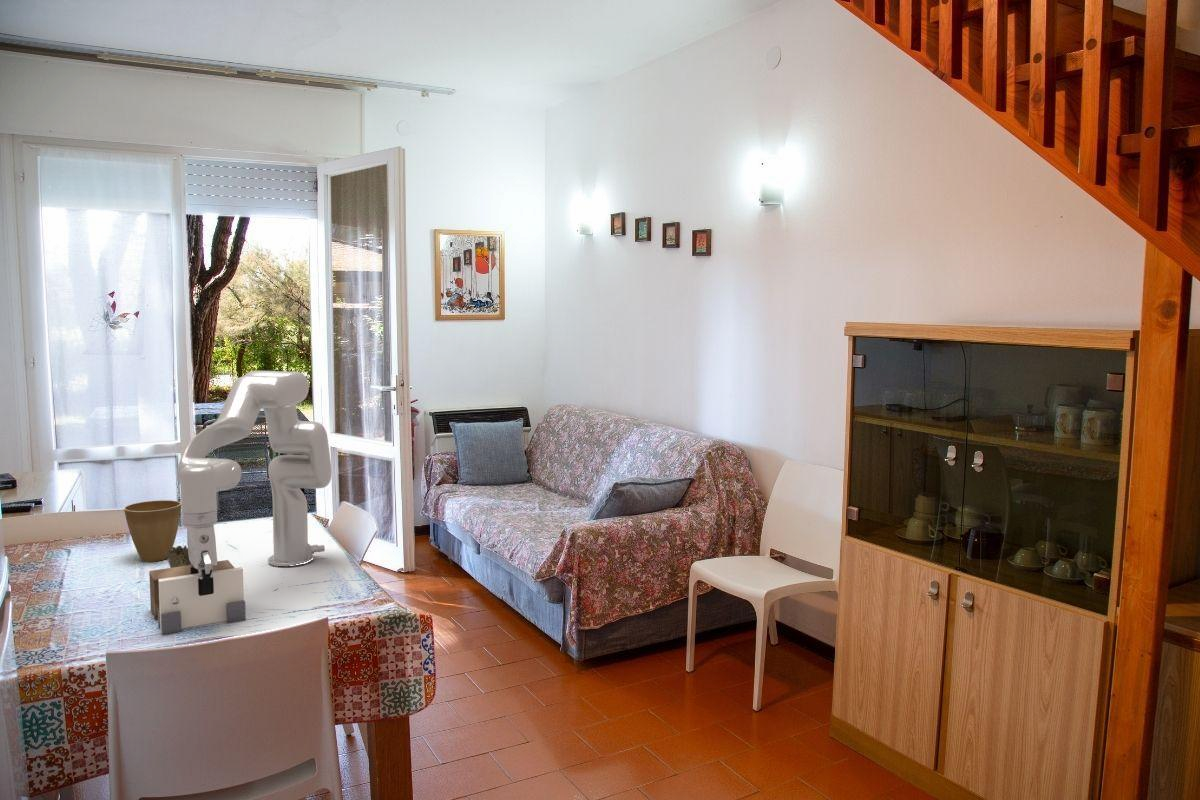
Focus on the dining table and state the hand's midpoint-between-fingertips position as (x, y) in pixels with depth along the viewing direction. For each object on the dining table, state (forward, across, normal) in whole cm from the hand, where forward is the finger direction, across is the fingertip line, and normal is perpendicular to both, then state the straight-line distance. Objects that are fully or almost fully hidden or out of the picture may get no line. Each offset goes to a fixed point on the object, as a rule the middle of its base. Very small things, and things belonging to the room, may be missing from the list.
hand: (202, 588), depth 203 cm
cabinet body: (+8, +11, 0) cm, 14 cm away
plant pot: (+9, +62, +2) cm, 63 cm away
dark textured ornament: (+9, +39, -2) cm, 40 cm away
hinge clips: (+8, 0, 0) cm, 8 cm away
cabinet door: (+8, 0, 0) cm, 9 cm away
